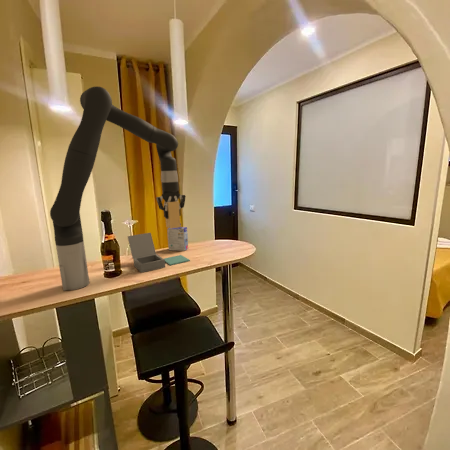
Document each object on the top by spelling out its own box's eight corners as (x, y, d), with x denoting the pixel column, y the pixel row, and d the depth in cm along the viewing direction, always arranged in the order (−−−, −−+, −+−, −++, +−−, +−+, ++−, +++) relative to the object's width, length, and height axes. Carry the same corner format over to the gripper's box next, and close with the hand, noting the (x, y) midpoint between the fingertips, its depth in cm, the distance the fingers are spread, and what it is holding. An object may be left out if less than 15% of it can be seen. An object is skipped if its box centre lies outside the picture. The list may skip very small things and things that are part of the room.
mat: (170, 265, 125) (170, 264, 125) (162, 260, 133) (162, 258, 133) (189, 261, 130) (189, 259, 130) (181, 256, 138) (181, 254, 138)
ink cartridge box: (188, 248, 152) (187, 222, 149) (185, 251, 147) (183, 224, 144) (172, 247, 154) (170, 222, 151) (168, 250, 149) (166, 224, 146)
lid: (127, 235, 129) (127, 237, 130) (133, 258, 126) (132, 259, 127) (150, 232, 135) (149, 233, 136) (156, 253, 132) (155, 254, 133)
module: (170, 228, 125) (168, 202, 123) (166, 226, 129) (164, 201, 127) (180, 227, 128) (178, 201, 125) (176, 225, 132) (174, 200, 129)
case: (141, 272, 117) (140, 264, 117) (134, 265, 126) (133, 258, 126) (165, 267, 123) (164, 259, 122) (157, 260, 132) (156, 253, 132)
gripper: (157, 182, 117) (160, 221, 121) (187, 180, 125) (190, 217, 128) (151, 181, 123) (155, 218, 127) (180, 180, 131) (183, 215, 134)
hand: (172, 217), depth 127 cm, fingers closed on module, 5 cm apart
